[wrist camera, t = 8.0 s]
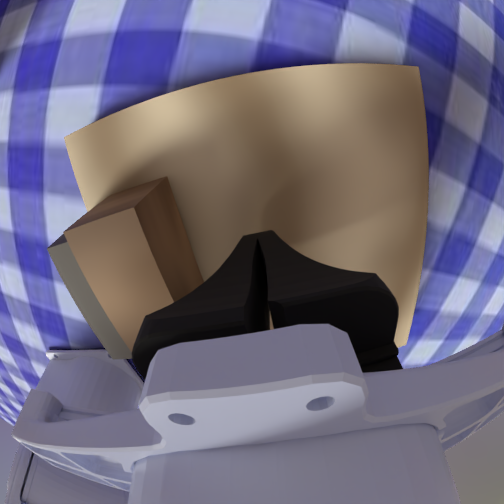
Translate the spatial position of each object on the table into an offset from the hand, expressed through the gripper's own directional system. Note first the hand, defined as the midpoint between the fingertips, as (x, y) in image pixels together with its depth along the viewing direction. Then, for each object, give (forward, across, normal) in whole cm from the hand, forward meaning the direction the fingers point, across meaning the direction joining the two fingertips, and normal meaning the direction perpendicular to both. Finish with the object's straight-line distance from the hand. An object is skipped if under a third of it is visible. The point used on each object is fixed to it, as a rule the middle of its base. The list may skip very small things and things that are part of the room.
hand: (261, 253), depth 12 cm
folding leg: (+1, +5, +3) cm, 6 cm away
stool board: (+3, 0, +2) cm, 4 cm away
